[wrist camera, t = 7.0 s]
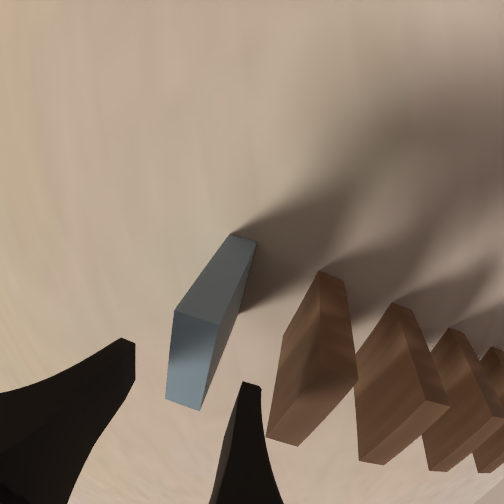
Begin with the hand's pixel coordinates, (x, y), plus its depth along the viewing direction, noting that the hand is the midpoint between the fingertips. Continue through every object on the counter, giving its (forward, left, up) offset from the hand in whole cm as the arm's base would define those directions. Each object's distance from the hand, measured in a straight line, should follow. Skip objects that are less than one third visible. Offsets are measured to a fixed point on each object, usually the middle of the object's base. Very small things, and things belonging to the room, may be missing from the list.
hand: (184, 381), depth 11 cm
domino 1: (0, 0, -9) cm, 9 cm away
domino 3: (-10, 0, -9) cm, 13 cm away
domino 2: (-5, 0, -9) cm, 10 cm away
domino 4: (-15, 0, -9) cm, 17 cm away
